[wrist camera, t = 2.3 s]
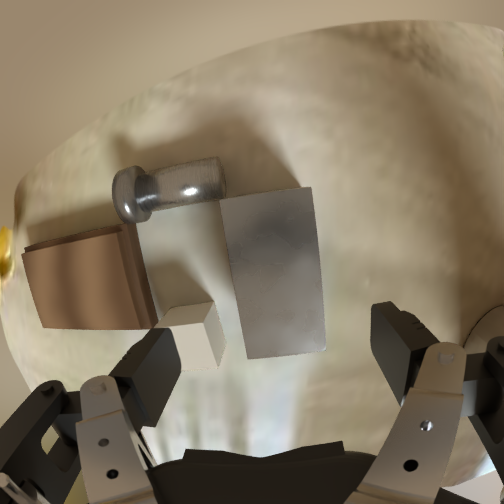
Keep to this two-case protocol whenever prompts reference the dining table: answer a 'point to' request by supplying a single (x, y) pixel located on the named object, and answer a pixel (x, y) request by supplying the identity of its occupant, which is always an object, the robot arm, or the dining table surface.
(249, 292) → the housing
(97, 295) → the stand
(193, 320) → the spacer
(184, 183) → the bolt
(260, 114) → the dining table surface
